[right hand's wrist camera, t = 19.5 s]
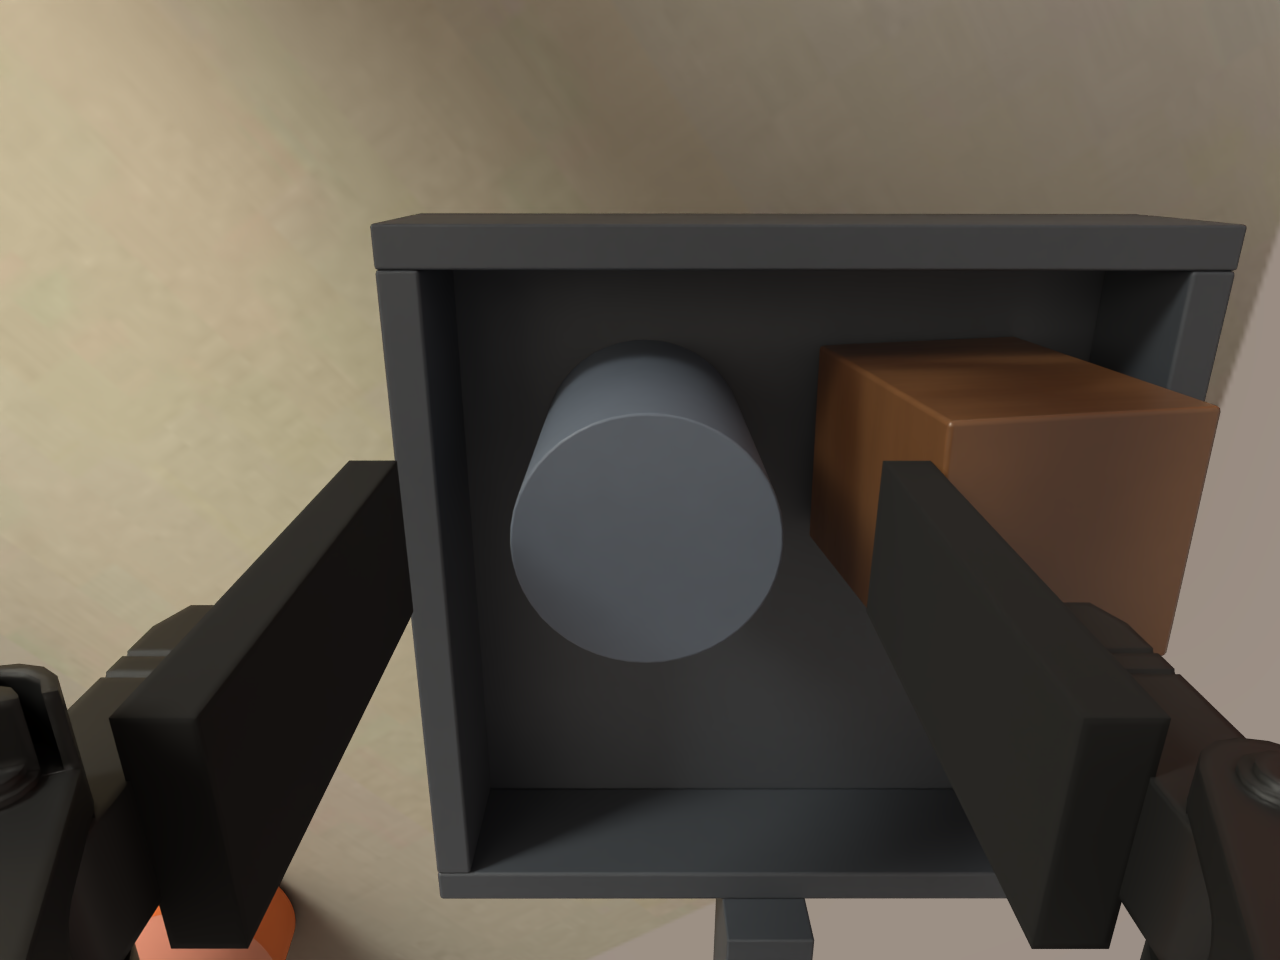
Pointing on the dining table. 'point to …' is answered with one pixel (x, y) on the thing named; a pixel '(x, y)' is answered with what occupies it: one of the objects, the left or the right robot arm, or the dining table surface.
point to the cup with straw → (261, 956)
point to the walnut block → (1020, 463)
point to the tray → (806, 581)
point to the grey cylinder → (646, 508)
